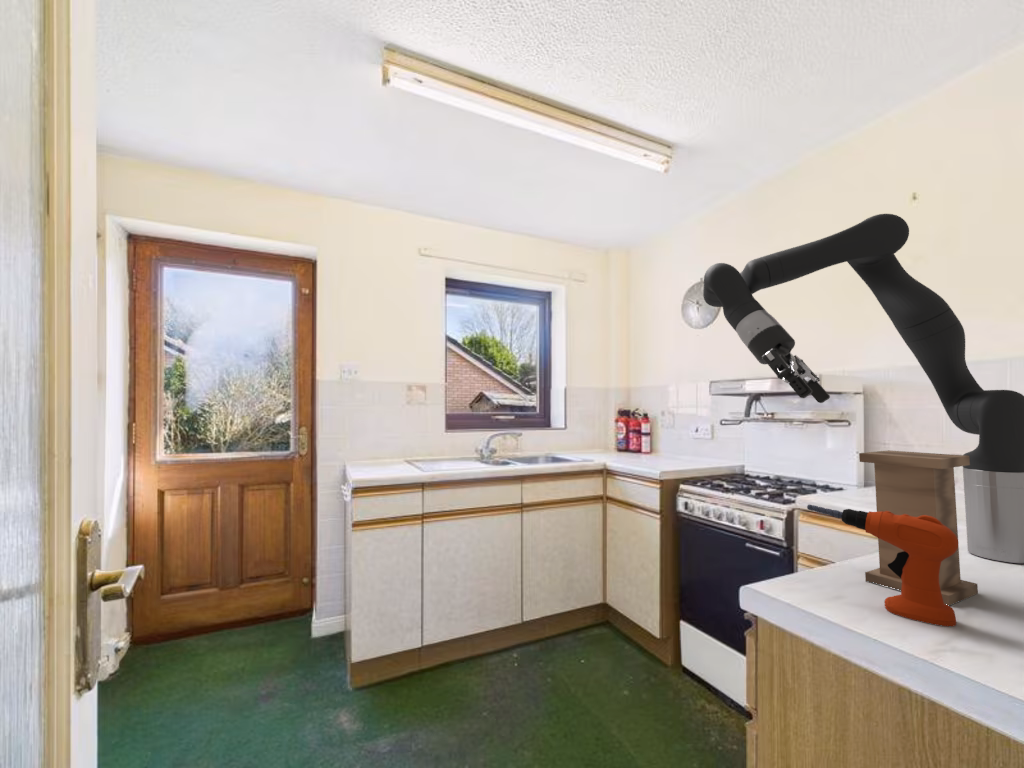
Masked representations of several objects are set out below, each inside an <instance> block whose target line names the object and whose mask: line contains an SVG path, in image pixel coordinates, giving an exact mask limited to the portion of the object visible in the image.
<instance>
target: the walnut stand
mask: <svg viewBox="0 0 1024 768" xmlns="http://www.w3.org/2000/svg"><path fill="white" fill-rule="evenodd" d="M858 456H859V457H858V458H859V459H858V460H859V462H861V463H868V464H869V463H871V464H874V484H875V485H874V486H875V505H876V512H880V511H883V512H885V511H890V512H891V513H893V514H895V515H903V514H907V515H909V516H913V517H919V516H921V515H928V516H932V517H934V518H936V519H938V520H939V521H940V522H941V523H942V524H943V525H945V526H946V527H948V528H949V529H950V530H951V531H952V532H953V533H954V534H955V535H956V537H957V539H958V540H959V535H958V534H959V531H958V518H957V517H958V516H957V515H958V513H957V499H956V497H957V496H956V484H955V468H959V467H963V466H967V465H970V459H969V456H965V455H964V454H963V455H962V454H947V453H935V452H934V453H931V452H920V451H919V452H917V451H903V450H902V451H901V450H881V451H868V452H859V454H858ZM877 541H878V542H877V543H878V557H879V558H878V560H879V561H878V562H879V567H877V568H875V569H871V570H869V571H865V572H864V573H865V574H864V575H865V577H864V578H865V582H867V581H869V582H868V583H870V582H874V583H877V584H881V585H884V586H888V587H892V588H895V589H899V590H901V588H902V580H901V578H900V577H899V576H898V575H896V574H895V573H894V572H893V571H892V570H891V569H890V568H889V567H888V564H889V563H892V562H893V561H894V560H895V558H896V556H897V553H899V552H903V551H904V550H902V549H900V548H898V547H896V546H894V545H892V544H890V543H888V542H886V541H883V540H881V539H879V538H877ZM960 564H961V563H960V548H959V545H958V548H957V550H956V552H955V553H954V554H953V555H951V556H950V557H948V558H946V559H944V560H943V561H942V562H941V565H940V571H939V585H940V590H941V594H942V598H943V602H944V604H947V605H951V604H953V603H955V604H956V602H957V603H959V602H958V601H960V602H961V600H962V601H965V600H966V599H969V598H970V597H973V596H975V595H977V594H979V590H978V589H979V586H978V583H975V582H971V581H967V580H963V579H962V578H961V567H960V566H961V565H960ZM877 584H876V585H877ZM884 586H883V587H884ZM953 605H954V604H953ZM951 606H952V605H951Z"/></svg>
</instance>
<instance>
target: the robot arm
mask: <svg viewBox="0 0 1024 768" xmlns="http://www.w3.org/2000/svg"><path fill="white" fill-rule="evenodd" d="M909 236H910V227H909V225H908V223H907V221H906V220H905V219H904V218H902V217H901V216H899V215H897V214H893V213H879V214H875V215H872V216H869V217H867V218H866V219H864V220H862V221H861V222H859V223H856V224H855V225H852V226H850V227H849V228H846V229H842V230H841V231H839V232H837V233H836V232H835V233H834V234H832V235H831V234H830V235H828V236H825V237H823V238H820V239H818V240H817V239H816V240H814V241H811V242H807V243H804V244H802V245H801V244H800V245H798V246H795V247H791V248H787V249H784V250H780V251H777V252H774V253H770V254H766V255H764V256H760V257H757V258H754V259H751V260H749V261H748V262H747V263H746V265H745V266H744V268H743V269H742V270H741V272H740V271H739V270H738V269H737V268H736V267H735V266H734V265H731V264H729V263H725V262H719V263H718V262H717V263H714V264H712V265H710V266H709V267H708V268H707V269H706V271H705V273H704V275H703V290H702V291H703V293H702V294H703V295H702V296H703V300H704V302H705V303H706V304H707V305H708V306H711V307H715V308H722V312H723V316H724V318H725V320H726V321H727V323H728V324H729V325H730V326H731V327H732V329H733V330H734V331H735V332H736V333H737V336H738V337H739V338H740V340H741V342H742V343H743V344H744V345H745V347H746V348H747V349H748V350H749V352H750V353H751V354H752V355H753V356H754V358H755V359H756V360H757V361H758V362H759V363H760V364H762V365H768V366H769V368H770V369H771V370H772V371H773V372H774V374H775V375H776V377H777V378H778V379H779V380H783V382H784V383H786V384H788V385H789V386H790V388H791V389H793V391H794V393H796V395H797V396H798V397H799V398H800V399H805V398H808V396H812V397H813V398H814V400H816V402H817V403H820V404H823V403H826V402H827V400H829V399H830V398H831V396H830V394H829V393H828V392H827V391H826V389H825V388H824V387H823V386H822V385H821V384H820V383H819V382H820V381H821V380H820V377H818V376H817V375H816V374H815V373H814V371H812V369H810V367H809V366H808V365H807V364H806V363H805V362H804V359H802V358H800V357H799V356H797V354H795V355H793V354H792V352H791V351H792V350H793V349H794V348H795V346H796V341H795V339H794V338H793V337H792V336H791V335H790V333H789V332H788V331H787V330H786V329H785V328H784V327H783V326H782V324H780V322H779V321H778V320H777V319H776V318H775V317H774V316H773V315H772V314H771V313H769V312H768V311H767V310H766V309H765V308H764V307H763V305H761V303H760V302H758V300H757V299H756V298H755V297H754V296H753V295H754V294H755V293H757V292H758V291H760V290H765V289H768V288H771V287H775V286H779V285H782V284H784V283H788V282H791V281H795V280H797V279H800V278H803V277H804V276H808V275H810V274H812V273H815V272H818V271H821V270H824V269H826V268H829V267H832V266H835V265H838V264H842V263H843V264H844V263H846V262H847V264H848V265H849V266H850V268H852V270H854V272H855V273H856V274H857V275H858V276H859V277H860V279H861V280H862V281H863V282H864V283H865V285H866V286H867V287H868V288H869V290H870V291H871V292H872V294H873V295H874V297H875V298H876V300H877V301H878V303H879V305H881V307H882V309H883V310H884V312H885V313H886V315H887V316H888V318H889V320H890V321H891V323H892V324H893V326H894V328H895V330H897V332H898V334H899V335H900V337H901V338H902V340H903V342H904V343H905V344H906V346H907V347H908V348H909V350H910V351H911V353H912V354H913V356H914V357H915V359H916V360H917V362H918V363H919V365H920V367H921V368H922V369H923V372H924V373H925V374H926V377H928V379H929V381H930V382H931V385H932V386H933V389H934V390H935V392H936V395H937V397H938V398H939V400H940V402H941V404H942V406H943V409H944V411H945V412H946V415H947V416H948V418H949V419H950V421H951V422H952V424H954V426H955V427H957V428H958V429H959V430H961V431H962V432H965V433H968V434H972V435H977V436H978V435H979V437H978V444H977V447H976V448H975V449H973V450H971V451H969V452H965V453H964V454H963V455H965V456H969V459H970V465H967V466H962V476H963V493H964V507H965V508H964V509H965V526H966V543H967V544H966V545H967V546H966V547H967V552H968V553H970V554H972V555H974V556H977V557H981V558H985V559H989V560H993V561H998V562H1005V563H1012V564H1013V563H1014V564H1024V395H1023V393H1020V392H1018V391H1016V390H1010V389H987V390H984V389H983V388H982V387H981V386H980V384H979V383H978V381H976V378H975V377H974V376H973V374H972V373H971V371H970V370H969V368H968V364H967V362H966V334H965V333H966V332H965V330H964V329H965V328H964V326H963V324H962V323H961V321H960V319H959V318H958V316H957V315H956V314H955V312H954V311H953V309H952V308H951V306H950V305H949V304H948V302H947V301H946V300H945V299H944V298H943V297H942V296H940V295H939V294H938V293H937V292H935V291H934V290H932V289H931V288H930V287H928V286H926V285H924V284H923V283H922V282H921V281H918V280H917V279H915V278H914V277H913V276H912V275H910V274H909V273H908V271H907V270H905V269H904V267H903V266H902V264H901V263H900V261H899V259H898V258H897V257H896V255H895V254H896V253H897V252H899V250H901V249H902V248H903V247H904V246H905V244H906V243H907V242H908V239H909ZM807 377H808V378H809V379H808V380H807V379H806V378H807Z"/></svg>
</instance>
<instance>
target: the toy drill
mask: <svg viewBox="0 0 1024 768" xmlns="http://www.w3.org/2000/svg"><path fill="white" fill-rule="evenodd" d="M806 509H807V510H808V511H812V512H816V513H819V514H823V515H828V516H831V517H834V518H837V519H841V521H842V522H843V523H844V524H845V525H849V526H851V527H855V528H856V529H859V530H863V531H865V533H867V534H870V535H872V536H874V537H875V538H877V539H878V538H879V539H881V540H883V541H886V542H888V543H890V544H892V545H894V546H896V547H898V548H900V549H902V550H904V551H903V552H899V553H897V556H896V558H895V560H894V561H893V562H892V563H889V564H888V567H889V568H890V569H891V570H892V571H893V572H894V573H895V574H896V575H898V576H899V577H900V578H901V580H902V588H901V592H900V594H897V595H892V596H887V597H886V598H885V600H884V608H885V609H887V612H889V613H891V614H893V615H896V616H899V617H902V618H905V619H909V620H914V621H917V620H918V622H921V621H922V622H921V623H925V622H926V623H927V624H929V623H931V624H930V625H935V624H936V626H940V625H942V627H949V626H951V627H956V625H957V616H956V613H955V610H954V608H953V607H952V606H948V605H946V604H944V602H943V598H942V594H941V590H940V585H939V571H940V565H941V562H942V561H943V560H944V559H946V558H948V557H950V556H951V555H953V554H954V553H955V552H956V550H957V548H958V546H959V538H958V539H957V537H956V535H955V534H954V533H953V532H952V531H951V530H950V529H949V528H948V527H946V526H945V525H943V524H942V523H941V522H940V521H939V520H938V519H936V518H934V517H932V516H928V515H921V516H919V517H913V516H909V515H907V514H903V515H895V514H893V513H891V512H890V511H885V512H883V511H880V512H877V511H868V512H867V511H862V510H854V509H850V508H846V509H843V510H842V511H840V510H837V509H832V508H825V507H822V506H817V505H814V504H813V505H812V504H807V505H806Z"/></svg>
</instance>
